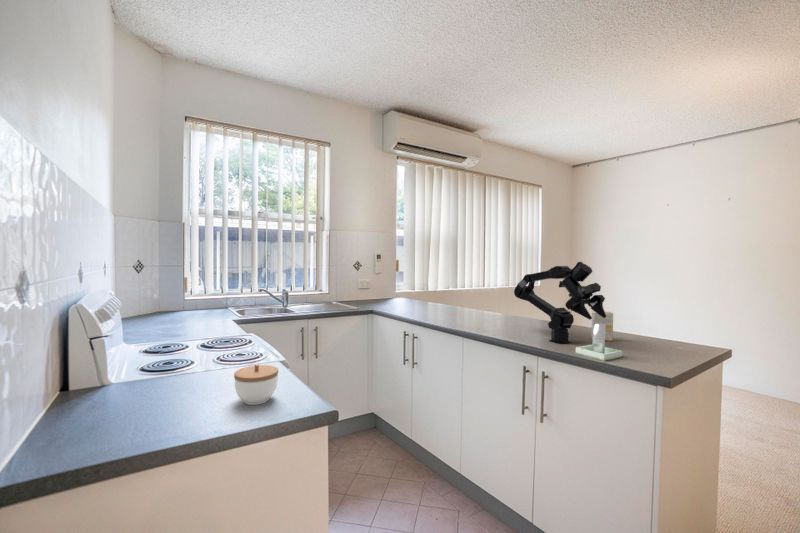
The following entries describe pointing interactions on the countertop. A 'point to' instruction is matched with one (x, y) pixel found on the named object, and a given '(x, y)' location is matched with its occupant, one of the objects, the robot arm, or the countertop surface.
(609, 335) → the supplement box
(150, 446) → the countertop surface
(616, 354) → the tray
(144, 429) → the countertop surface
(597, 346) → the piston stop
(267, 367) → the lidded jar
